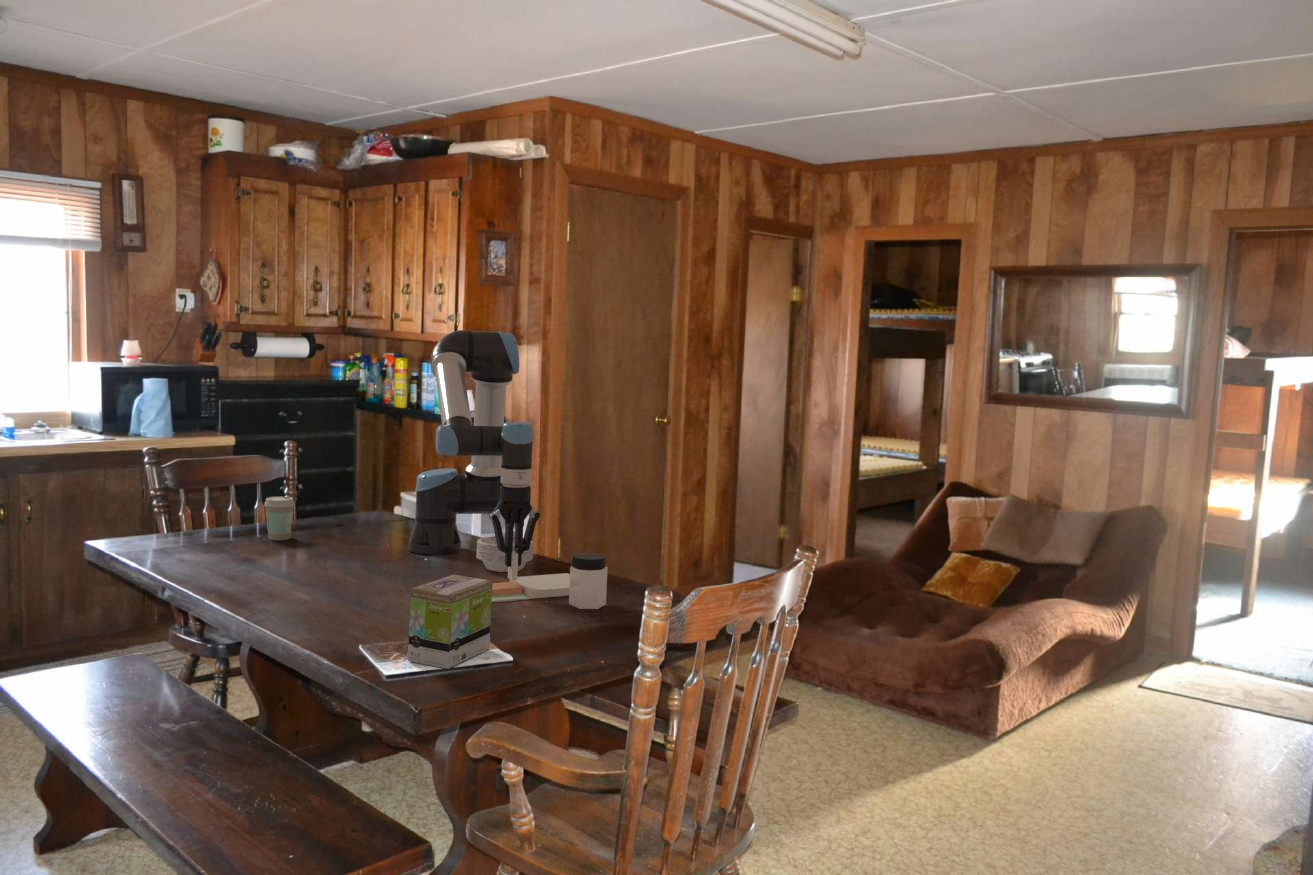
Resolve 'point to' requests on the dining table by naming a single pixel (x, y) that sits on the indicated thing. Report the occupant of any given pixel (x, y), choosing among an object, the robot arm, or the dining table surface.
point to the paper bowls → (498, 554)
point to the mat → (509, 597)
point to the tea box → (449, 620)
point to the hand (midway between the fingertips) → (512, 578)
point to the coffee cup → (279, 517)
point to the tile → (506, 588)
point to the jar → (588, 581)
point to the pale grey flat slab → (544, 585)
